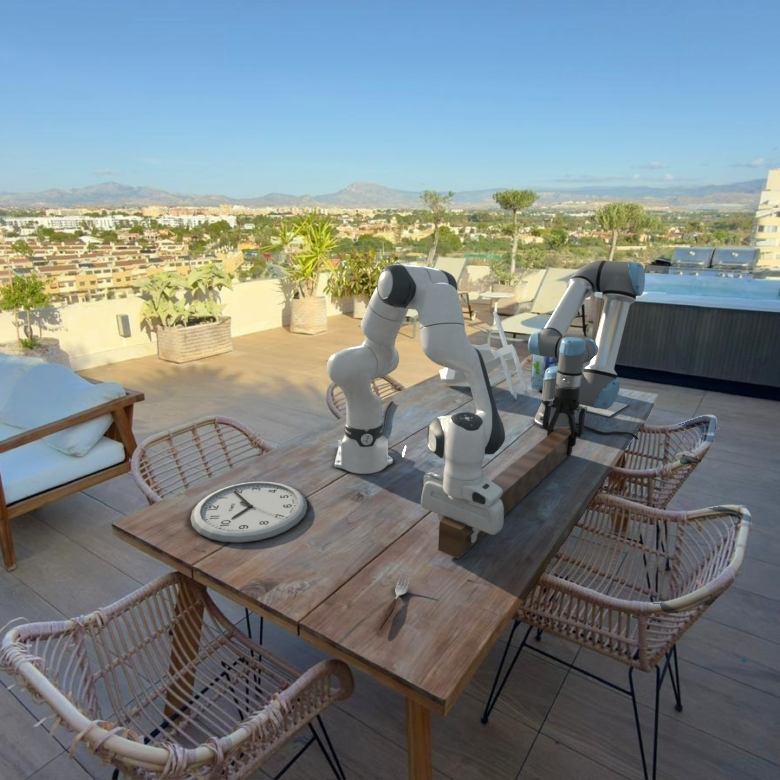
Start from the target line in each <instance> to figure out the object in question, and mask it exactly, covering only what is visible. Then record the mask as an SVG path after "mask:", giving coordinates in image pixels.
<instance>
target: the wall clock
mask: <svg viewBox="0 0 780 780" xmlns="http://www.w3.org/2000/svg"><path fill="white" fill-rule="evenodd" d="M307 503H308V502H307V499H306V498H305V496H304V495H303V493H301V492H300V491H298V490H297V489H295V488H294V487H291V486H289V485H286V484H283V483H280V482H279V483H278V482H272V481H249V482H248V481H247V482H242V483H238V484H232V485H229V486H226V487H223V488H220V489H218V490H216V491H213V492H211V493H210V494H208V495H207V496H205V497H204V498H202V499H201V500H200V501H199V502H198V503H197V504H196V505H195V507H194V508H193V509H192V511H191V515H190V523H191V526H192V528H193V529H194V531H196V532H197V533H198V534H199V535H201V536H203V537H205V538H208V539H210V540H214V541H218V542H222V543H239V544H240V543H249V542H256V541H262V540H265V539H269V538H274V537H276V536H278V535H280V534H282V533H286V532H287V531H289V530H290V529H292V528H293V527H295V526H296V525H298V524H299V523H300V522H301V521H302V519H303V518H304V517H305V516H306V513H307V510H308V504H307Z"/></svg>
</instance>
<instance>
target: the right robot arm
mask: <svg viewBox="0 0 780 780" xmlns="http://www.w3.org/2000/svg"><path fill="white" fill-rule="evenodd" d="M645 273H646V272H645V268H644V265H643V264H642V263H640V262H635V261H630V260H629V261H621V260H620V261H616V260H604V259H603V260H601V259H599V260H594V261H592V262H589V263H587V264H585V265H584V266H582V267H581V268H579V269H578V270H577V271H576V272H575V273H574V274H572V276H571V277H570V278H569V280H568V282H567V284H566V290H565V292H564V294H563V296H562V297H561V299H560V300H559V302H558V304H557V305H556V308H555V309H554V310H553V312H552V314H551V316H550V318H549V319H548V321H547V323H546V324H545V325H544V327H543V329H542V331H541V332H533V333H532V334H530V336H529V338H528V342H527V349H528V352H529V353H530V354H532V355H534V354H535V355H539V356H545V357H552V358H557V359H559V362H558V366H553V367H550V368H548V369H546V371H545V375H544V379H543V380H544V381H543V390H541V391H542V394H541V402H540V405H539V407H538V410H537V411H536V413H535V416H534V424H535V425H536V426H537V427H539V428H542V429H543V430H546V431H547V432H546V437H547V436H548V435H549V434H550V433H552V432H553V431H554V430H555V429H557V428H558V427H561V428H565V429H569V430H570V431H571V436H570V437H569V440H568V448H567V457H569V456H571V454H572V452H573V449H572V446H573V448H574V447H575V446H576V445H577V439H578V438H581V437H582V436H583V435H584V431H585V430H584V429H586V430H588V431H592V432H595V433H597V434H601V435H626V436H631V437H633V438H634V439H635V440H639V437H638V436H637V435H636V434H634V433H633V432H629V431H617V430H614V431H602V430H598V429H595V428H593V427H591V426H586V425H585V420H586V419H585V418H586V416H585V415H586V412H588V411H587V407H583V406H581V405H585V406H590V407H593V408H600V409H608V408H609V407H611V406H612V404H613V403H614V402H616V399H617V398H618V395H619V392H620V387H621V380H620V379H618V378H617V377H618V373H617V372H616V370H615V366H616V363H617V358H618V354H619V349H620V346H621V343H622V342H621V341H622V339H623V334H624V330H625V326H626V322H627V318H628V315H629V314H628V313H629V310H630V306H631V305H632V304H633V303H635V302H636V301H637V300H636V299H637V297H641V296H642V295H643V293H644V291H645V285H646V274H645ZM593 293H601V298H602V299H603V301H604V303H603V306H602V310H601V315H600V319H599V323H598V327H597V333H596V335H595V340H594V339H592V338H589V337H587V338H585V337H584V338H581V337H575V336H574V337H573V336H569V337H565V336H566V334H567V332H568V331H569V329H570V327H571V325H572V323H573V322H574V320H575V318H576V316H577V315H578V313H579V311H581V310H580V309H581V308H582V306H583V304H584V302H585V301H586V299H588V298H590V297H591V296H592V295H593ZM588 362H589V364H588V365H587V366H584V364H586V363H588ZM577 408H578V409H577ZM576 410H578V411H577V412H578V413H579V414H578V422H576V414H575V411H576Z"/></svg>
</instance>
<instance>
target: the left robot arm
mask: <svg viewBox="0 0 780 780" xmlns="http://www.w3.org/2000/svg"><path fill="white" fill-rule="evenodd" d="M462 307H463V306H462V302H461V299H460V294H459V291H458V283H457V280H456V278H455V277H454V275H453V274H451V273H450V272H448V271H446V270H443V269H436V268H433V267H429V266H424V265H403V264H400V263H397V264H389V265H387V266H384V267H383V268H382V270H381V271H380V273H379V275H378V277H377V281H376V287H375V289H374V290H373V293H372V295H371V297H370V300H369V301H368V304H367V306H366V308H365V312H364V314H363V316H362V319H361V321H360V330H361V332H362V335H363V336H364V341H363V342H362V343H361V344H360V345H356V346H352V347H347V348H343V349H341V350H339V351H337V352H335V353H333V354H332V355H330V357H329V358H328V360H327V363H326V371H327V375H328V377H329V379H330V381H332V382H333V384H334V385H336V386H338V388H340V390H341V392H342V394H343V397H344V400H345V401H344V402H345V415H346V421H345V423H344V435H343V437H342V439H338V440H337V451H336V456H335V460H334V465H333V466H334V467H335V468H337V469H341V470H345V471H346V472H349V473H352V474H359V475H360V474H361V475H365V474H367V475H368V474H374V473H378V472H381V471H383V470H384V469H385V468H386V467H387V466H389V465H392V464H393V463H394V459H393V458H392V457H391V456H390V455H389V446H388V445H389V443H388V439H387V438H386V437H385V436H384V431H385V427H386V423H387V415H388V413H389V412H388V411H389V409H390V407H391V406H392V405H393V404H394V401H393V400H391V401H390V402H389V404H388V405H387V407H386V408H385V411H384V415H383V401H382V398H381V397H380V396H379V395H378V394H377V393H375V392H374V391H373V389H372V385H371V382H372V381H373V380H376V379H381V378H383V377H384V378H385V377H386V376H388V375H389V374H391V373H392V372H394V371H395V370H396V369H397V368H398V366H399V365H400V364H399V363H400V354H399V352H398V350H397V347H396V341H397V338H398V335H399V333H400V331H401V328H402V326H403V323H404V321H405V319H406V317H407V315H408V313H409V310H415V311H416V312H417V316H418V330H419V331H418V332H419V341H420V346H421V350H422V352H423V354H424V355H425V356H426V358H428V359H429V360H430V361H431V362H432V363H434V364H436V365H438V366H441V367H443V368H450V369H452V370H455V371H457V372H459V373H461V374H462V375H463V376H465V377H466V379H467V380H468V384H469V388H470V391H471V395H472V401H473V404H474V408H475V411H476V412H475V413H474V412H470V411H464V410H463V411H457V412H454V413H452V414H450V415H441V416H436V417H435V418H433V419H432V420H431V422H430V423H429V425H428V426H427V447H428V449H429V450H430V451H431V452H432V453H433V454H434V455H436V456H437V457H438V458H440V459H443V460H444V462H445V464H444V469H443V475H440V474H437V473H435V472H433V471H430V472H427V473H425V474H424V475H423V488H422V491H421V497H420V504H421V506H422V508H423V509H425V510H427V511H429V512H433V513H435V514H437V518H438V520H439V522H440V521H441V520H442V519H443V518H445V517H449V518H451V519H454V520H456V521H459V522H461V523H464V524H467V525H468V526H471V527H473V531H475V532H471V533H470V534H468V541H469V542H472V543H474V542H475V541H476V539H477V534H478V533H479V532H480V530H481V531H483V532H486V534H488V535H491V536H495V535H496V534H498V533H500V531H502V529H503V527H504V519H505V516H504V507H503V503H502V501H501V500H500V499H499V498H500V497H501V495H502V492H503V491H502V488H501V487H499V486H498V485H496V484H495V483H493V482H492V481H491V479H489V478H488V477H487V476H485V475H484V469H483V461H484V459H485V456H486V455H494V454H496V453H497V452H498V451H499V450H500V449H501V448H502V446H503V444H504V443H505V441H506V431H505V427H504V423H503V421H502V418H501V415H500V413H499V411H498V408H497V405H496V401H495V397H494V392H493V390H492V386H491V382H490V378H489V374H487V370H486V367H485V364H484V360H483V358H482V355H481V353H480V351H479V350H478V349H476V348H474V345H473V344H472V343H471V341H470V339H469V338H468V335H467V332H466V324H465V317H464V311H463V308H462ZM406 449H407V445H405V446H404V448H403V450H402V454H401V456H402V458H404V457H405V454H406V453H405V452H406Z"/></svg>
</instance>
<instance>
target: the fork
mask: <svg viewBox="0 0 780 780" xmlns="http://www.w3.org/2000/svg"><path fill="white" fill-rule="evenodd" d="M402 574H403V572H402V571H401V573H400V575H399V577H398V581H397V584H396V586H395V588H394V593H395V597H394V599H393V600H392V601H391V602H390V604H389V605H388V607H387V609H386V611H385V614H384V615H383V618H382V620H381V621H382V622H381V624H380V626H379V631H381V629H382V628H383V627H384V625H385V623H386V622H387V621H388V619H389V618H390V617H391V615H392V613H393V611H394V610H395V606H396V603H397V601H398V598H399V597H400V596H403V595H406V594H407V592H408V590H409V586H410V582H411V578H412V575H410V576H409V574H407V575H406V573H404V574H403V577H402ZM405 575H406V578H405ZM408 576H409V579H408ZM401 578H402V579H401Z"/></svg>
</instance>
